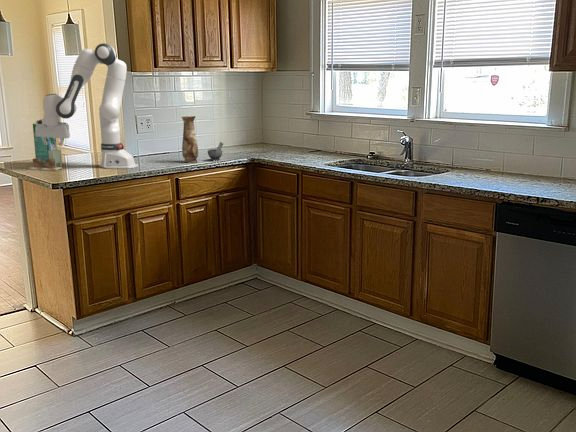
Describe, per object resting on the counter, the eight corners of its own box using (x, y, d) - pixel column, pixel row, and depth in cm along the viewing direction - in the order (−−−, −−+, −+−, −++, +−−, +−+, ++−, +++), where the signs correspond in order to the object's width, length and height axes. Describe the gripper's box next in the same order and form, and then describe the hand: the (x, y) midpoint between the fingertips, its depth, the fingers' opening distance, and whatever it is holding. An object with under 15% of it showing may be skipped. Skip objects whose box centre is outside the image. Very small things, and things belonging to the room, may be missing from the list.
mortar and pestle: (211, 161, 374) (211, 143, 371) (205, 160, 382) (205, 142, 379) (226, 160, 380) (226, 142, 377) (220, 158, 388) (220, 141, 385)
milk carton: (49, 165, 350) (45, 123, 344) (36, 164, 351) (32, 123, 345) (57, 163, 358) (54, 122, 352) (45, 162, 360) (41, 122, 354)
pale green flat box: (57, 165, 348) (56, 149, 345) (62, 165, 347) (61, 149, 345) (49, 168, 339) (48, 151, 337) (54, 168, 338) (52, 151, 336)
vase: (200, 162, 369) (199, 115, 362) (184, 163, 364) (183, 116, 357) (195, 160, 378) (194, 114, 371) (179, 161, 373) (178, 115, 366)
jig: (62, 168, 337) (61, 158, 335) (55, 170, 330) (54, 160, 329) (33, 167, 339) (32, 157, 338) (26, 169, 332) (25, 159, 331)
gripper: (71, 122, 338) (72, 145, 341) (39, 120, 341) (40, 143, 344) (65, 123, 332) (66, 146, 335) (33, 121, 335) (34, 144, 338)
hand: (53, 145), depth 340 cm, fingers open, 8 cm apart
